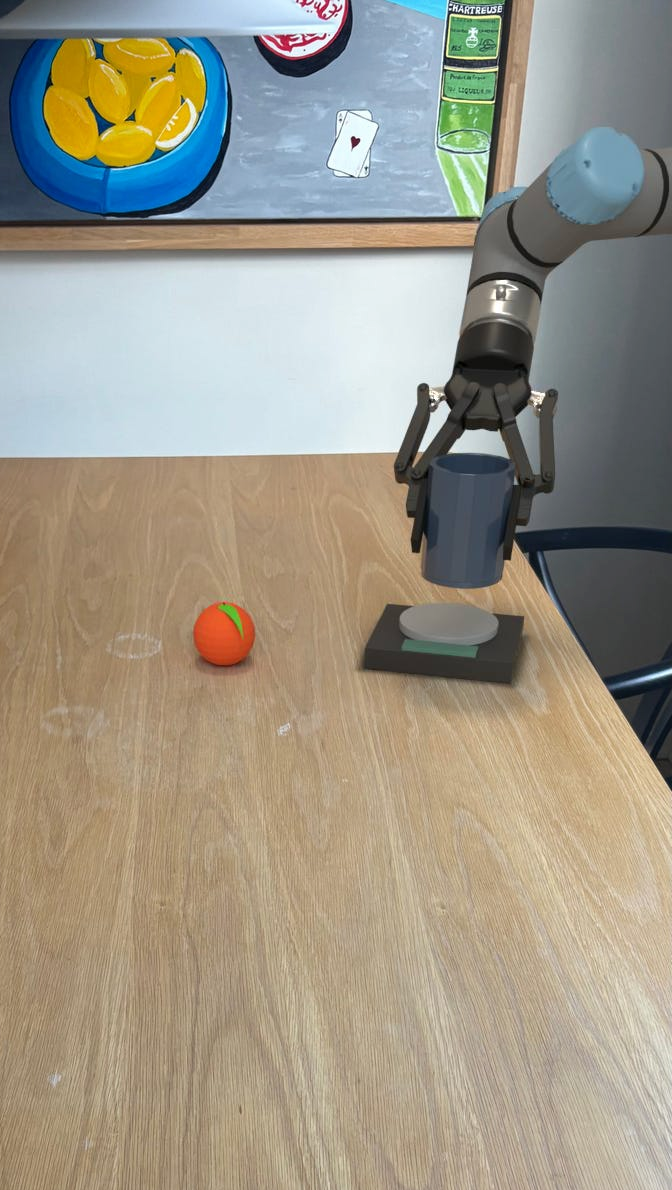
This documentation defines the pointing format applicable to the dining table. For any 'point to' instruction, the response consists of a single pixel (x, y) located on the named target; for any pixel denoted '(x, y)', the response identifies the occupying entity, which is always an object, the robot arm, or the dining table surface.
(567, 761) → the dining table surface
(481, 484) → the cup
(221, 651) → the clementine
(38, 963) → the dining table surface
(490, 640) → the scale
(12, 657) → the dining table surface
